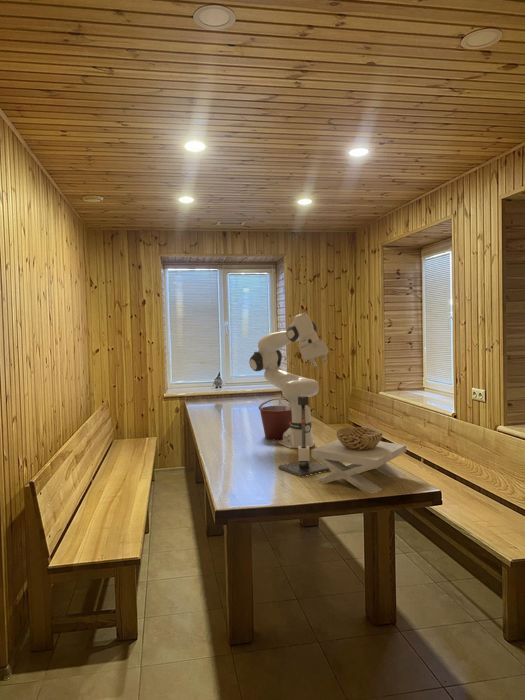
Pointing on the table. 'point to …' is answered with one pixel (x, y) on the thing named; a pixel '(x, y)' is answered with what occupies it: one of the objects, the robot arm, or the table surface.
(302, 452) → the sleeve
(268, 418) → the bucket
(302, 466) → the rod stand
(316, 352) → the robot arm
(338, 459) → the white table with basket
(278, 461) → the table surface
